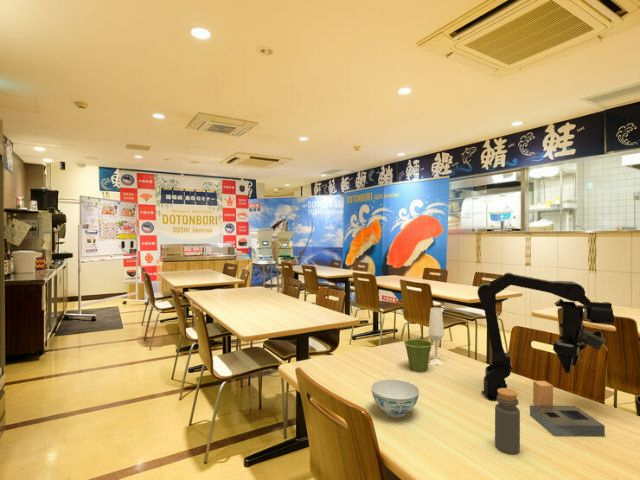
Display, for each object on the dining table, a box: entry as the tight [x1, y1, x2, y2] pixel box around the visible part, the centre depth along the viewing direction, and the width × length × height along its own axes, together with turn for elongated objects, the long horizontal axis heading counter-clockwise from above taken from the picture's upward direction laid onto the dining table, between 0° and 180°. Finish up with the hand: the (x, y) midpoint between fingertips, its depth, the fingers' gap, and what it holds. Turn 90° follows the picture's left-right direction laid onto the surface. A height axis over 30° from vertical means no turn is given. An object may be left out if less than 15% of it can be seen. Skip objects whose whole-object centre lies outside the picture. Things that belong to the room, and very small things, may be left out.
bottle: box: [494, 387, 521, 455], centre depth 95 cm, size 6×6×15 cm
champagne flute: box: [427, 307, 445, 364], centre depth 160 cm, size 7×7×24 cm
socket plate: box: [529, 404, 606, 437], centre depth 107 cm, size 14×12×3 cm
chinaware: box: [370, 378, 420, 419], centre depth 115 cm, size 15×15×8 cm
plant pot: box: [403, 338, 434, 373], centre depth 152 cm, size 12×12×11 cm
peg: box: [532, 380, 554, 406], centre depth 118 cm, size 4×4×8 cm
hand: (570, 369), depth 117 cm, fingers open, 9 cm apart
